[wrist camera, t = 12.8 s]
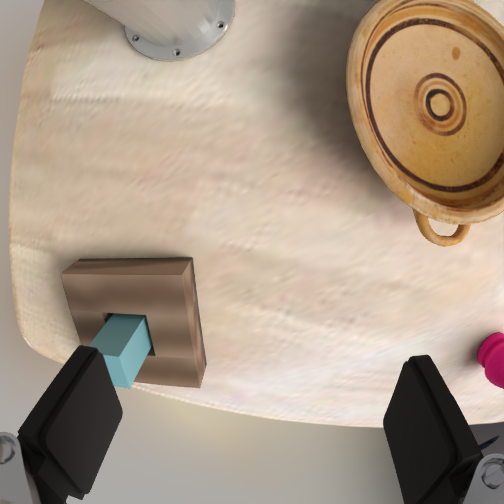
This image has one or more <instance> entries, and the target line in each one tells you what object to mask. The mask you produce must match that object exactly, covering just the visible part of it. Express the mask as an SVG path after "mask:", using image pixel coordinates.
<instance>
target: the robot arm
mask: <svg viewBox="0 0 504 504" xmlns="http://www.w3.org/2000/svg"><path fill="white" fill-rule="evenodd" d="M84 1H86V2H87V3H89V4H91V5H92V6H94V7H96V8H97V9H99V10H101V11H102V12H104V13H106V14H107V15H109V16H110V17H112V18H114V19H115V20H117V21H118V22H120V23H122V24H123V25H124V26H125V32H126V35H127V38H128V40H129V41H130V43H131V45H132V46H133V47H134V48H135V49H136V50H137V51H139V52H140V53H142V54H143V55H145V56H148V57H150V58H152V59H156V60H160V61H180V60H184V59H188V58H192V57H194V56H197V55H199V54H201V53H203V52H205V51H206V50H208V49H209V48H211V47H212V46H214V45H215V44H216V43H217V42H218V41H219V40H220V39H221V38H222V37H223V36H224V34H225V33H226V32H227V30H228V28H229V27H230V25H231V23H232V20H233V17H234V12H235V1H234V0H84ZM221 25H223V27H222V28H219V26H221ZM138 38H139V39H138ZM137 39H138V41H137ZM178 52H180V54H179V55H178V56H177V53H178ZM122 413H123V412H122V407H121V404H120V402H119V400H118V396H117V394H116V391H115V388H114V385H113V383H112V380H111V377H110V374H109V371H108V368H107V365H106V362H105V359H104V356H103V354H102V353H100V352H99V350H98V349H97V348H95V347H90V346H84V345H80V346H79V347H77V349H76V350H75V351H74V353H73V354H72V355H71V357H70V358H69V359H68V361H67V362H66V363H65V365H64V366H63V368H62V369H61V370H60V371H59V373H58V374H57V376H56V377H55V378H54V380H53V381H52V383H51V384H50V385H49V387H48V388H47V390H46V391H45V392H44V394H43V395H42V397H41V398H40V400H39V401H38V402H37V404H36V405H35V407H34V408H33V410H32V411H31V412H30V414H29V416H28V417H27V419H26V420H25V421H24V423H23V424H22V426H21V427H20V429H19V431H18V433H19V435H18V437H17V438H16V437H15V436H14V435H13V434H11V433H7V432H0V504H67V503H66V499H67V497H68V495H70V496H72V497H75V498H78V499H80V500H82V499H83V497H84V495H85V494H88V493H89V492H90V490H91V488H92V485H93V483H94V481H95V478H96V476H97V473H98V471H99V469H100V466H101V464H102V462H103V459H104V457H105V455H106V452H107V450H108V448H109V445H110V443H111V441H112V439H113V436H114V434H115V432H116V430H117V427H118V425H119V423H120V421H121V418H122ZM383 426H384V430H385V434H386V437H387V441H388V444H389V447H390V451H391V455H392V458H393V462H394V465H395V469H396V473H397V477H398V480H399V484H400V488H401V492H402V496H403V500H404V504H504V455H502V454H490V455H488V456H486V457H483V454H482V452H481V450H480V448H479V446H478V444H477V442H476V440H475V437H474V436H473V433H472V431H471V429H470V427H469V425H468V423H467V421H466V419H465V417H464V415H463V414H462V412H461V410H460V408H459V406H458V404H457V402H456V400H455V398H454V397H453V395H452V394H451V393H450V391H449V389H448V387H447V385H446V384H445V382H444V380H443V378H442V376H441V375H440V373H439V371H438V369H437V368H436V366H435V364H434V362H433V361H432V359H431V357H430V356H429V355H420V356H412V357H410V358H409V360H408V361H406V362H405V363H404V364H403V367H402V370H401V373H400V376H399V379H398V382H397V384H396V387H395V390H394V393H393V395H392V398H391V401H390V403H389V406H388V408H387V411H386V413H385V416H384V419H383Z"/></svg>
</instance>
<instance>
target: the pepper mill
mask: <svg viewBox="0 0 504 504" xmlns="http://www.w3.org/2000/svg"><path fill="white" fill-rule="evenodd" d="M477 358H478V361H479V362H480V364H481V365H482V367H483V368H485V376H486V377H487V379H488V380H489V381H490V382H491V383H492V384H494V385H495V386H498V387H500V388H503V389H504V334H503V333H495V334H493V335H491V336H490V337H488V338H487V339H486V340H485V341H484V343H483V344H482V345H481V347H480V349H479V351H478V355H477Z"/></svg>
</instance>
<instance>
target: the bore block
mask: <svg viewBox="0 0 504 504" xmlns="http://www.w3.org/2000/svg"><path fill="white" fill-rule="evenodd" d="M60 275H61V279H62V283H63V286H64V290H65V294H66V297H67V301H68V304H69V307H70V311H71V314H72V317H73V320H74V323H75V327H76V330H77V333H78V336H79V338H80V341H81V344H82V345H84V346H89V345H90V343H91V342H92V341H93V339H94V338H95V337H96V335H97V334H98V333H99V332H100V330H101V329H102V328H103V326H104V325H105V324H106V323H107V321H108V320H109V319H110V318H111V316H112V315H113V314H114V313H119V314H137V315H146V317H147V321H148V326H149V330H150V335H151V339H152V343H153V345H152V346H151V348H150V350H149V352H148V354H147V356H146V358H145V360H144V362H143V364H142V366H141V368H140V370H139V372H138V374H137V376H136V377H135V379H134V381H133V382H139V383H148V384H157V385H167V386H178V387H192V388H200V387H201V383H202V379H203V375H204V372H205V368H206V357H205V350H204V344H203V337H202V330H201V322H200V315H199V308H198V300H197V292H196V284H195V275H194V266H193V258H119V259H79V260H78V261H76V262H75V263H74V264H72V265H71V266H70V267H69V268H67V269H66V270H65V271H63V272H62V273H61V274H60Z"/></svg>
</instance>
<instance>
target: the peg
mask: <svg viewBox="0 0 504 504" xmlns="http://www.w3.org/2000/svg"><path fill="white" fill-rule="evenodd" d="M152 345H153V343H152V339H151V335H150V330H149V326H148V321H147V317H146V315H137V314H119V313H114V314H113V315H112V316H111V318H110V319H109V320H108V321H107V323H106V324H105V325H104V326H103V328H102V329H101V330H100V332H99V333H98V334H97V335H96V337H95V338H94V339H93V341H92V342H91V343H90V345H89V346H90V347H95V348H97V349H98V350H99V352H100V353H102V354H103V356H104V359H105V362H106V365H107V368H108V371H109V374H110V377H111V380H112V383H113V385H114V386H116V387H123V388H130V387H131V385H132V383H133V381H134V379H135V377H136V376H137V374H138V372H139V370H140V368H141V366H142V364H143V362H144V360H145V358H146V356H147V354H148V352H149V350H150V348H151V346H152Z"/></svg>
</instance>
